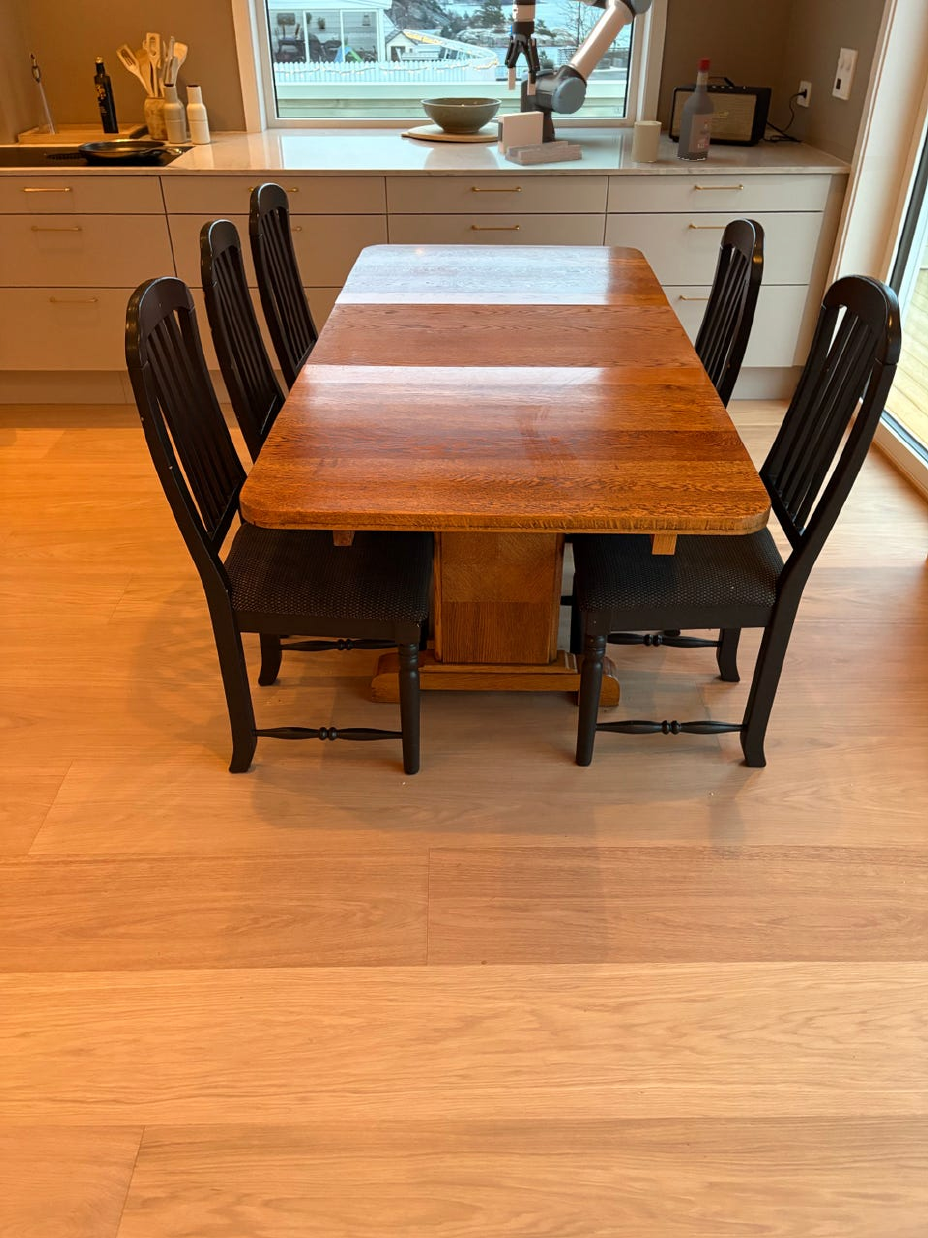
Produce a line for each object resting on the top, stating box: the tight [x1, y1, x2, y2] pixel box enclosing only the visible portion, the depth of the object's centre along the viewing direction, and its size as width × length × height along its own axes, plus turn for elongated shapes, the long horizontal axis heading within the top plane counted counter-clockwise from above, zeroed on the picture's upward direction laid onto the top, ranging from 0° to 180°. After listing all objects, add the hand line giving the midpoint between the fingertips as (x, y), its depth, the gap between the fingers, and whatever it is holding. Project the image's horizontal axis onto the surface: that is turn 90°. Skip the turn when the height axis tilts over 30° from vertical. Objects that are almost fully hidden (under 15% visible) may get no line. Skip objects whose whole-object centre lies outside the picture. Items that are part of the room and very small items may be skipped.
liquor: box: [677, 57, 715, 160], centre depth 319 cm, size 9×9×30 cm
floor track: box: [504, 140, 583, 166], centre depth 326 cm, size 24×12×4 cm, turn 118°
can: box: [630, 120, 662, 163], centre depth 322 cm, size 9×9×12 cm
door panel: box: [497, 111, 543, 155], centre depth 335 cm, size 17×4×12 cm, turn 118°
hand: (521, 91), depth 328 cm, fingers open, 13 cm apart
